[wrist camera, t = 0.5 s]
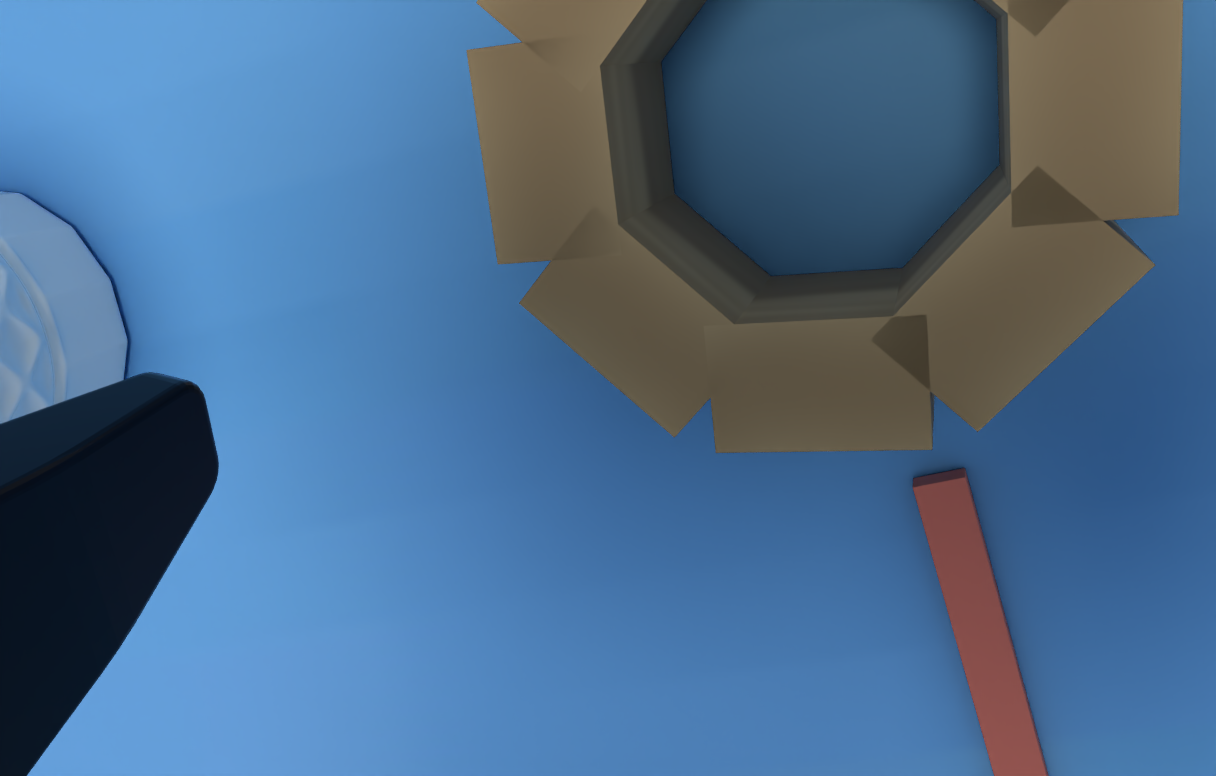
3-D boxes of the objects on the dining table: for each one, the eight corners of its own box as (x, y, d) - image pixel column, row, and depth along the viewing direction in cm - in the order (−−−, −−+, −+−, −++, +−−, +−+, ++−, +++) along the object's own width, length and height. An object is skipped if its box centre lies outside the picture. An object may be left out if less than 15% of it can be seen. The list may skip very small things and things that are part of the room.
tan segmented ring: (1132, 372, 20) (1173, 446, 16) (592, 390, 23) (526, 455, 19) (1139, -264, 17) (1190, -347, 14) (524, -144, 20) (432, -185, 17)
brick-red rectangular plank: (1102, 974, 24) (1105, 993, 23) (1054, 976, 24) (1056, 994, 24) (965, 467, 21) (965, 477, 21) (913, 478, 22) (912, 487, 21)
